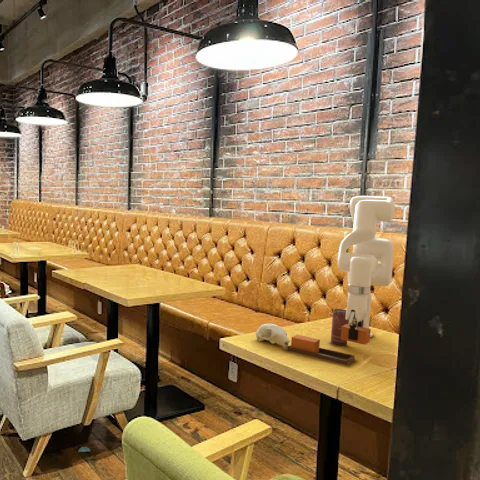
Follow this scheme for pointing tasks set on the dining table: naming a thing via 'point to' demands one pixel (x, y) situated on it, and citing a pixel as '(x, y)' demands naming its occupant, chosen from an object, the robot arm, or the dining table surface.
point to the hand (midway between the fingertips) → (355, 337)
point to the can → (338, 327)
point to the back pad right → (362, 334)
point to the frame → (326, 355)
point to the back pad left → (305, 343)
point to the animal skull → (272, 334)
